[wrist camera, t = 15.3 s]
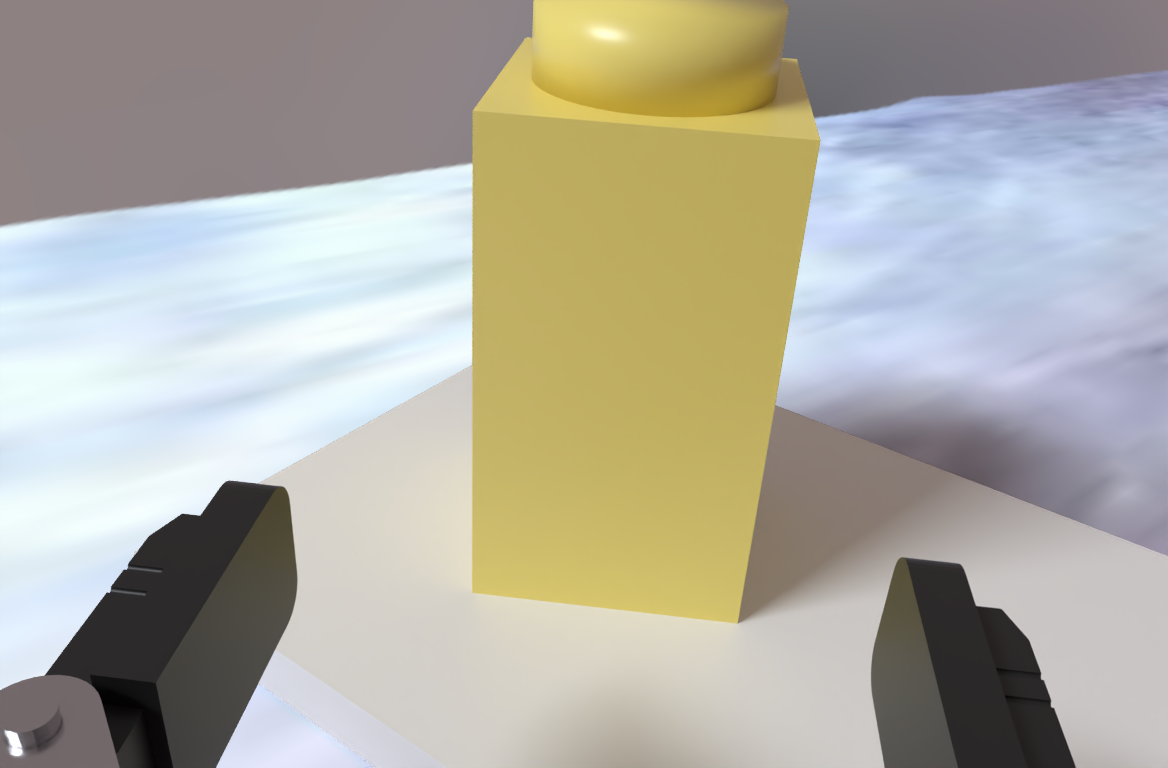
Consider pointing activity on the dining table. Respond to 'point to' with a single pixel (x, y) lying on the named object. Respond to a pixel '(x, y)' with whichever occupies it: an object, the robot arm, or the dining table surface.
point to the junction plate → (677, 644)
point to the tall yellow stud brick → (633, 299)
